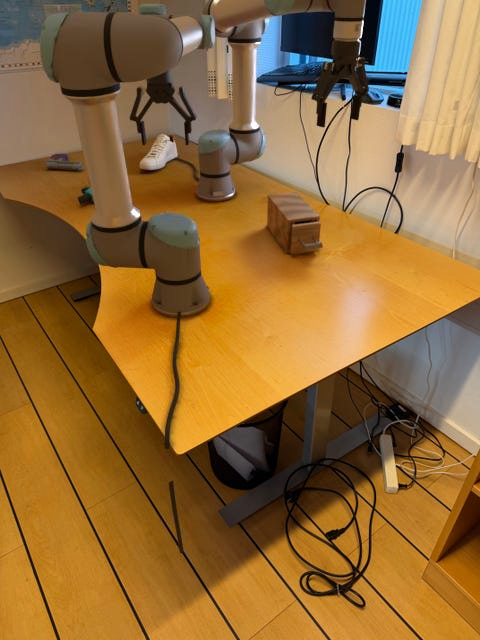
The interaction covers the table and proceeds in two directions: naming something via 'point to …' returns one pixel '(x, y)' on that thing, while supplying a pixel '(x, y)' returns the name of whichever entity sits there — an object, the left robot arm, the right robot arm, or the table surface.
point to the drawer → (305, 236)
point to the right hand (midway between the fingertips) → (337, 122)
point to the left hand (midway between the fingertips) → (165, 144)
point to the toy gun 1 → (62, 162)
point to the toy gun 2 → (86, 195)
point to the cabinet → (287, 215)
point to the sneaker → (160, 153)
